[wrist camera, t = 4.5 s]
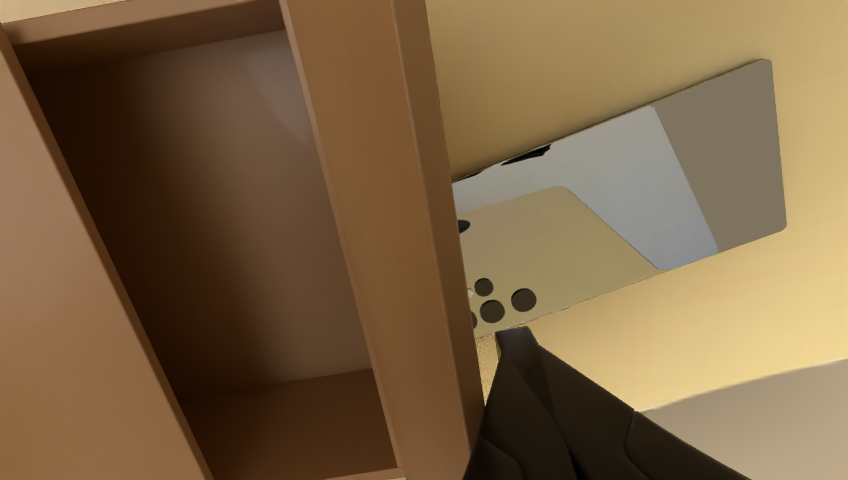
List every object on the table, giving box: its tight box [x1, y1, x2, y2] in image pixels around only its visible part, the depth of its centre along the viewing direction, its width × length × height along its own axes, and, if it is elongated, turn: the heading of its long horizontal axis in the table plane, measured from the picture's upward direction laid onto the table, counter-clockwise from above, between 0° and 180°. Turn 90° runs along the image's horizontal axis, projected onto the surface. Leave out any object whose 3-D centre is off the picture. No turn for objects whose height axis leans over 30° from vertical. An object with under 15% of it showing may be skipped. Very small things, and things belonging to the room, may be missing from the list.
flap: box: [286, 0, 485, 480], centre depth 10 cm, size 6×16×1 cm
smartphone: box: [452, 59, 787, 339], centre depth 19 cm, size 8×1×16 cm
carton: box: [0, 0, 405, 480], centre depth 16 cm, size 13×16×7 cm
